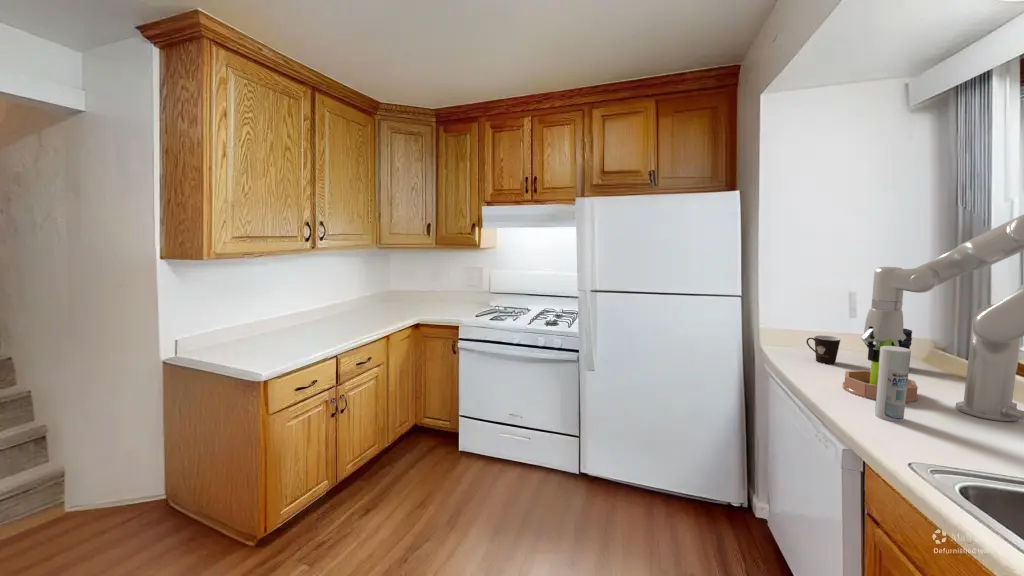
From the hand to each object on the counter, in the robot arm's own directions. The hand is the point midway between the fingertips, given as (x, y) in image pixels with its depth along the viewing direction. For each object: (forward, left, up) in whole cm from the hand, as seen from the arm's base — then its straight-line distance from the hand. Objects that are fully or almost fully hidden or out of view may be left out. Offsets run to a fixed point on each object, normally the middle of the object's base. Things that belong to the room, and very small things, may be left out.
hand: (881, 359), depth 147 cm
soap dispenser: (0, 0, -9) cm, 9 cm away
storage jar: (+23, -31, -11) cm, 40 cm away
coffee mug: (+35, -12, -11) cm, 39 cm away
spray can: (-18, +16, -11) cm, 26 cm away
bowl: (0, 0, -11) cm, 11 cm away
